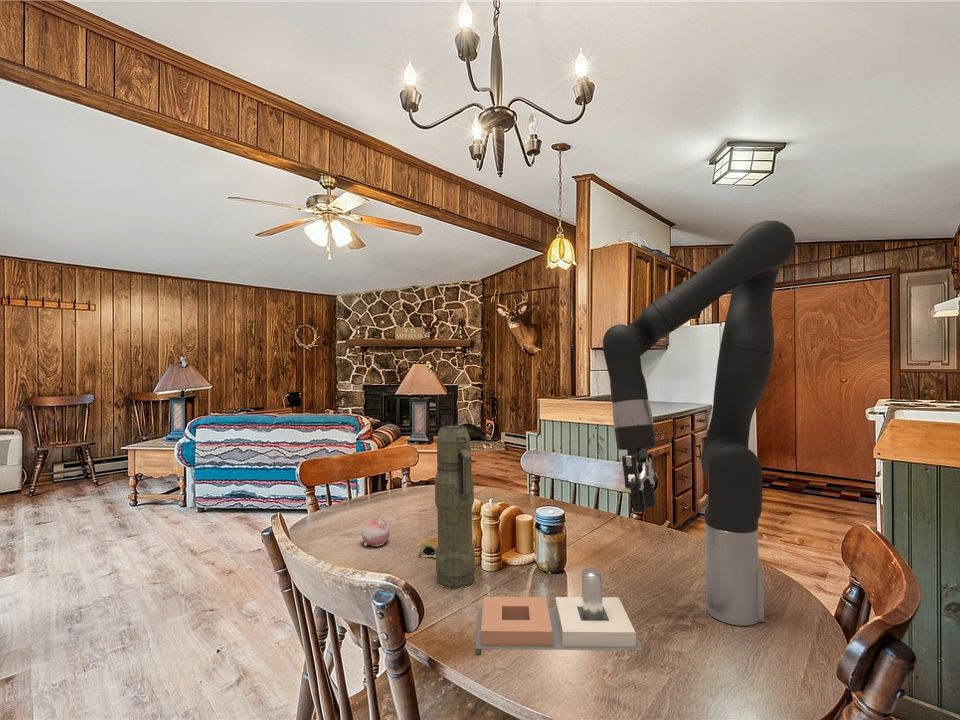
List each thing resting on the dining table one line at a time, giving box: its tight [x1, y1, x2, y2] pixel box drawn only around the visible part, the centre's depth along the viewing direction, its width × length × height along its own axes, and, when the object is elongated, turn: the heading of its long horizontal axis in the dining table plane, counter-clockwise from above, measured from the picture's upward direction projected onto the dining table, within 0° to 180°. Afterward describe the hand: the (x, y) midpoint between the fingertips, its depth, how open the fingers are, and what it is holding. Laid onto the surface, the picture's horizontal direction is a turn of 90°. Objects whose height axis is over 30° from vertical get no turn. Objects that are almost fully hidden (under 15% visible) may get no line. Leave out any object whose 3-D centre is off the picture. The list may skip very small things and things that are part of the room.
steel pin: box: [581, 567, 604, 621], centre depth 90 cm, size 4×4×10 cm
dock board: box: [475, 596, 643, 655], centre depth 90 cm, size 28×14×4 cm, turn 87°
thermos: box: [434, 424, 476, 589], centre depth 112 cm, size 9×12×35 cm
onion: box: [361, 517, 391, 546], centre depth 135 cm, size 8×8×7 cm
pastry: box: [417, 537, 438, 559], centre depth 129 cm, size 9×7×4 cm
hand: (645, 509), depth 95 cm, fingers open, 8 cm apart
